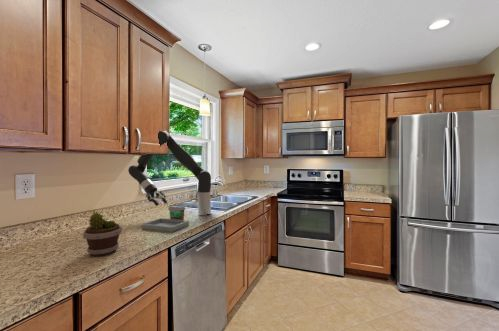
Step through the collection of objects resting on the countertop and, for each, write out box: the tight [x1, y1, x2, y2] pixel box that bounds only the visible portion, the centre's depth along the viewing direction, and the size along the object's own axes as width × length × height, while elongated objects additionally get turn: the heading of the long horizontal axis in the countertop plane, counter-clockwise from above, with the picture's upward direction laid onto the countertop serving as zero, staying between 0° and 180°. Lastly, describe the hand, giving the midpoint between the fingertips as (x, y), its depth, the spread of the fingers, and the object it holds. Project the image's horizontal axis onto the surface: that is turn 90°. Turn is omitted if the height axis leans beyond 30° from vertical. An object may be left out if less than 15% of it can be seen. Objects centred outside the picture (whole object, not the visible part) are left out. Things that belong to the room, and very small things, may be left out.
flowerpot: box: [82, 210, 123, 257], centre depth 108 cm, size 14×15×20 cm
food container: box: [168, 205, 186, 220], centre depth 163 cm, size 12×6×10 cm, turn 71°
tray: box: [141, 217, 190, 233], centre depth 149 cm, size 16×22×3 cm
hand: (162, 203), depth 167 cm, fingers open, 8 cm apart
